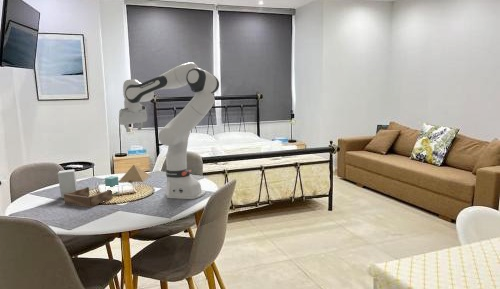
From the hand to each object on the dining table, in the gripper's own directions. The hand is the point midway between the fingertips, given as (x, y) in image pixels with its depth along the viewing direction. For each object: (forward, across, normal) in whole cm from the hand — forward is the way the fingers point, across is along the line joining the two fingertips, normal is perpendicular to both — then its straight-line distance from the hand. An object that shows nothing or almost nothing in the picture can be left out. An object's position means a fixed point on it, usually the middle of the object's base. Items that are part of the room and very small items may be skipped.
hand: (134, 131), depth 213 cm
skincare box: (+34, -29, +24) cm, 51 cm away
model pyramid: (+35, +16, +17) cm, 42 cm away
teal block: (+34, -15, +6) cm, 38 cm away
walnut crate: (+34, -32, +6) cm, 47 cm away
